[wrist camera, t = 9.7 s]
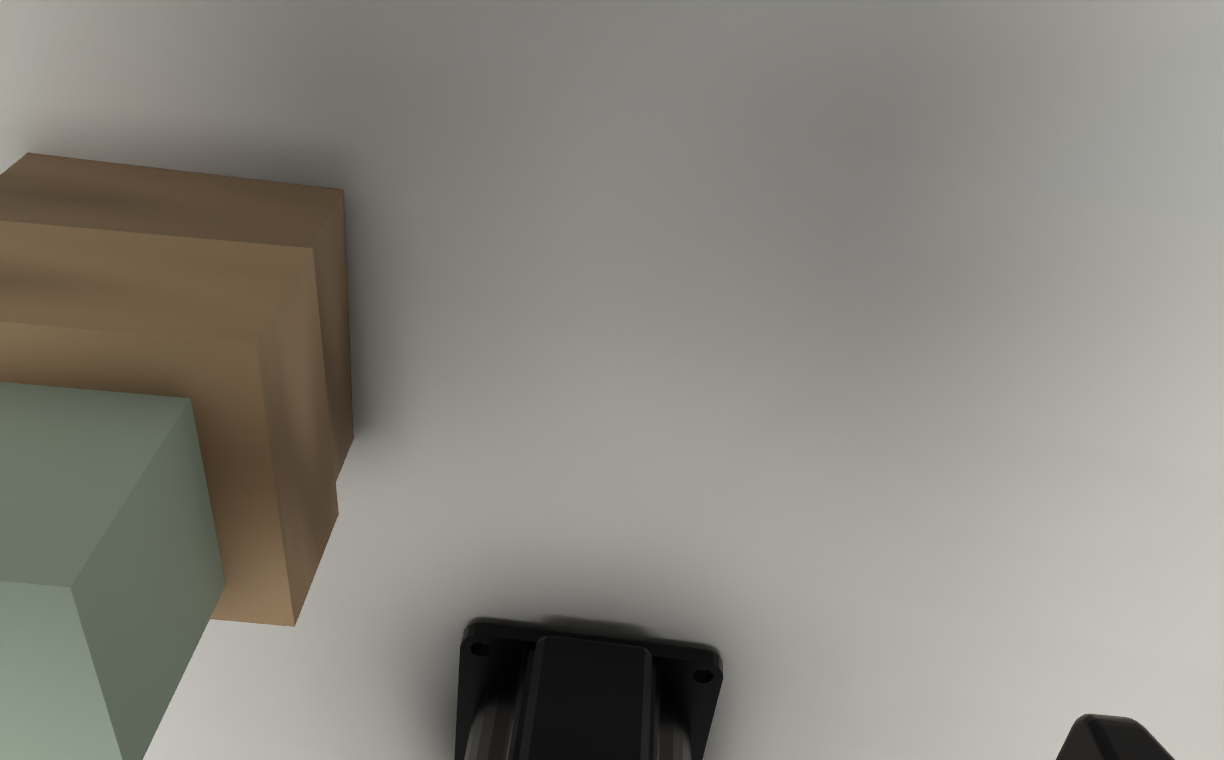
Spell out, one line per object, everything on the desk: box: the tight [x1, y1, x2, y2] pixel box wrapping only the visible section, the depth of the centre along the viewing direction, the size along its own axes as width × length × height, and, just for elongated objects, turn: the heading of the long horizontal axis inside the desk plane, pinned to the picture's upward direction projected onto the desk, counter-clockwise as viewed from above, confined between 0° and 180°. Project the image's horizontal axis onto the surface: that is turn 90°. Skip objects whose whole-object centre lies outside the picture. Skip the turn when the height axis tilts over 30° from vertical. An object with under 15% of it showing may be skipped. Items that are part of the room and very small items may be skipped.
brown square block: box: [0, 221, 339, 627], centre depth 19 cm, size 6×6×3 cm
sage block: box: [0, 382, 226, 760], centre depth 16 cm, size 4×4×4 cm
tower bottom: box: [0, 153, 354, 482], centre depth 22 cm, size 6×6×3 cm
